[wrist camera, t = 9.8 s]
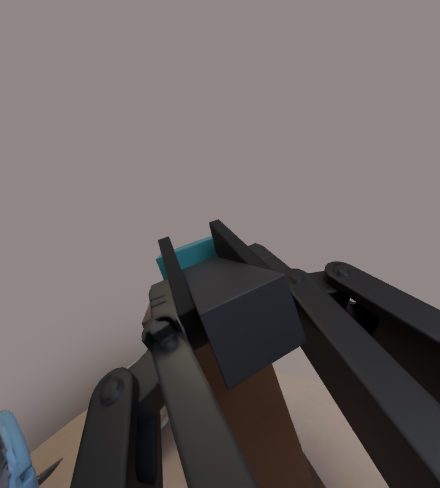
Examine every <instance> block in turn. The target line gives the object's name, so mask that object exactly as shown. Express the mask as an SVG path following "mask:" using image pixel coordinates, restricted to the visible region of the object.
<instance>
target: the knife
mask: <svg viewBox="0 0 440 488" xmlns="http://www.w3.org/2000/svg"><path fill="white" fill-rule="evenodd" d="M62 459H63V458H62ZM62 459H60V460H59V461H57V462H56V463H54V464H53V465H52V466H50V467H49V468H48V469H46V470H45V471H44V472H42V473H41V474H40V475H38V476H37V480H38V484H39V486H40V485H41V484H42V483H43V482H44V481H45V480H46V479H47V478H48V477H49V476H50V475H51V473H52V472H53V471H54V470H55V468H56V467H57V466H58V464H59V463H60V462H61V460H62ZM39 477H40V478H39ZM38 478H39V479H38Z"/></svg>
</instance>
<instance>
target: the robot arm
mask: <svg viewBox="0 0 440 488" xmlns="http://www.w3.org/2000/svg"><path fill="white" fill-rule="evenodd" d="M209 224H210V229H211V234H212V238H213V243H214V247H215V252H216V253H217V255H218V256H219V257H220V258H224V259H228V260H232V261H236V262H240V263H244V264H248V265H252V266H256V267H260V268H264V269H268V270H272V271H276V272H280V273H284V274H285V275H286V279H287V282H288V285H289V288H290V291H291V294H292V297H293V300H294V303H295V306H296V309H297V312H298V315H299V318H300V322H301V325H302V328H303V331H304V334H305V337H306V340H307V342H306V343H304V344H303V345H301V346H300V347H301V348H302V350H303V351H304V353H305V355H306V356H307V358H308V359H309V361H310V362H311V364H312V365H313V367H314V369H315V370H316V372H317V374H318V375H319V377H320V378H321V380H322V382H323V383H324V385H325V386H326V388H327V389H328V391H329V393H330V394H331V396H332V397H333V399H334V401H335V402H336V404H337V405H338V407H339V408H340V410H341V412H342V413H343V415H344V416H345V418H346V420H347V421H348V423H349V424H350V426H351V427H352V429H353V431H354V432H355V434H356V435H357V437H358V439H359V440H360V442H361V443H362V445H363V447H364V448H365V450H366V451H367V453H368V454H369V456H370V458H371V459H372V461H373V462H374V464H375V466H376V467H377V469H378V470H379V472H380V473H381V475H382V477H383V478H384V480H385V481H386V483H387V485H388V486H389V488H440V310H439V309H436V308H435V307H433V306H431V305H429V304H427V303H424V302H423V301H421V300H419V299H417V298H415V297H413V296H411V295H409V294H407V293H405V292H403V291H401V290H398V289H397V288H395V287H393V286H391V285H389V284H387V283H385V282H383V281H381V280H379V279H377V278H375V277H373V276H371V275H369V274H367V273H365V272H364V271H361V270H359V269H358V268H356V267H353V266H352V265H349V264H347V263H344V262H331V263H328V264H327V265H326V266H325V270H324V271H321V272H315V273H306V272H305V271H302V270H300V269H291V268H290V267H288V266H287V265H286V264H285V263H283V262H282V261H281V260H280V259H278V258H277V257H276V256H275V255H273V254H272V253H271V252H270V251H268V250H267V249H266V248H265V247H264V246H262V245H259V244H256V243H255V244H252V245H250V246H247V245H246V244H245V243H244V242H242V241H241V240H240V239H239V238H238V237H237V236H236V235H235V234H234V233H233V232H232V231H231V230H230V229H228V228H227V227H226V226H225V225H224V224H223V223H222V222H221V221H220V220H219V219H218V220H215V221H212V222H210V223H209ZM158 243H159V246H160V250H161V254H162V258H163V262H164V266H165V269H166V273H167V277H168V279H166V280H164V281H161V282H159V283H156V284H154V285H152V286H151V289H150V291H149V300H150V308H151V318H152V319H151V320H150V321H149V322H148V323H147V325H146V326H145V327H144V330H143V332H142V342H143V343H144V344H145V345H146V347H147V348H148V350H147V351H146V353H145V354H144V355H143V356H142V357H141V358H140V359H139V360H137V361H136V362H135V363H134V364H133V365H132V366H130V367H129V368H128V369H127V368H123V367H121V368H117V369H114V370H113V371H111V372H109V373H108V374H107V375H105V376H104V377H103V378H102V379H101V380H100V382H99V383H98V385H97V386H96V388H95V389H94V392H93V394H92V397H91V399H90V403H89V408H88V412H87V416H86V421H85V425H84V429H83V434H82V438H81V442H80V447H79V451H78V455H77V460H76V464H75V468H74V473H73V477H72V481H71V486H70V488H163V475H162V444H161V414H160V410H161V409H162V408H163V407H164V406H166V409H167V413H168V417H169V420H170V424H171V428H172V431H173V435H174V439H175V442H176V446H177V450H178V453H179V457H180V460H181V464H182V468H183V471H184V475H185V479H186V482H187V486H188V488H260V487H259V485H258V483H257V481H256V479H255V477H254V475H253V473H252V471H251V469H250V467H249V464H248V462H247V460H246V458H245V456H244V454H243V452H242V450H241V448H240V446H239V444H238V442H237V440H236V438H235V436H234V434H233V432H232V429H231V427H230V425H229V423H228V421H227V419H226V417H225V415H224V413H223V411H222V409H221V407H220V405H219V403H218V401H217V399H216V396H215V394H214V392H213V390H212V388H211V386H210V384H209V382H208V380H207V378H206V376H205V374H204V372H203V370H202V368H201V366H200V364H199V361H198V359H197V357H196V355H195V351H194V350H196V349H198V348H200V347H202V346H204V345H206V344H208V343H209V341H208V338H207V336H206V333H205V330H204V328H203V325H202V322H201V320H200V317H199V314H198V312H197V309H196V306H195V304H194V301H193V298H192V296H191V293H190V291H189V288H188V285H187V283H186V280H185V277H184V275H183V272H182V270H181V267H180V264H179V262H178V259H177V257H176V254H175V251H174V249H173V246H172V244H171V241H170V239H169V237H166V238H163V239H160V240H158ZM350 298H351V299H353V300H354V301H356V302H352V301H350ZM0 488H39V484H38V480H37V476H36V472H35V470H34V467H33V466H32V460H31V456H30V452H29V449H28V446H27V444H26V441H25V438H24V436H23V433H22V431H21V429H20V426H19V424H18V422H17V420H16V418H15V416H14V415H13V413H11V412H10V411H7V410H4V411H0Z"/></svg>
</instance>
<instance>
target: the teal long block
mask: <svg viewBox="0 0 440 488" xmlns="http://www.w3.org/2000/svg"><path fill="white" fill-rule="evenodd" d="M174 251H175V254H176V257H177V259H178V262H179V264H180V267H181V270H182V272H183V275H184V277H185V280H186V283H187V285H188V288H189V291H190V293H191V296H192V298H193V301H194V304H195V306H196V309H197V312H198V314H199V317H200V320H201V322H202V325H203V328H204V330H205V333H206V336H207V338H208V341H209V344H210V346H211V349H212V351H213V354H214V356H215V359H216V362H217V364H218V367H219V369H220V372H221V375H222V377H223V380H224V382H225V385H226V388H227V389H231V388H232V387H234V386H235V385H237V384H239V383H240V382H242V381H244V380H245V379H247V378H249V377H250V376H252V375H254V374H255V373H257V372H258V371H260V370H262V369H263V368H265V367H267V366H268V365H270V364H272V363H273V362H275V361H276V360H278V359H280V358H281V357H283V356H284V355H286V354H288V353H290V352H291V351H293V350H294V349H296V348H298V347H299V346H301V345H303V344H304V343H306V342H307V340H306V337H305V334H304V331H303V328H302V325H301V322H300V318H299V315H298V312H297V309H296V306H295V303H294V300H293V297H292V294H291V291H290V288H289V285H288V282H287V279H286V275H285V274H284V273H280V272H276V271H272V270H268V269H264V268H260V267H256V266H252V265H248V264H244V263H240V262H236V261H232V260H228V259H224V258H220V257H219V256H218V255H217V253H216V252H215V247H214V243H213V238H212V237H207V238H205V239H201V240H199V241H196V242H193V243H191V244H188V245H185V246H182V247H179V248H177V249H174ZM156 261H157V263H158V266H159V269H160V271H161V274H162V276H163V279H164V280H166V279H168V277H167V273H166V269H165V266H164V262H163V258H162V254H161V255H160V256H159V257H158V258H157V259H156Z"/></svg>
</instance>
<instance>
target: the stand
mask: <svg viewBox="0 0 440 488" xmlns="http://www.w3.org/2000/svg"><path fill="white" fill-rule="evenodd" d="M151 319H152V318H151V308H150V303H149V306H148V309H147V311H146V314H145V316H144V319H143V321H142V325H143V328H144V327H145V326H146V325H147V323H148V322H149V321H150V320H151ZM194 351H195V355H196V357H197V359H198V361H199V364H200V366H201V368H202V370H203V372H204V374H205V376H206V378H207V380H208V382H209V384H210V386H211V388H212V390H213V392H214V394H215V396H216V399H217V401H218V403H219V405H220V407H221V409H222V411H223V413H224V415H225V417H226V419H227V421H228V423H229V425H230V427H231V429H232V432H233V434H234V436H235V438H236V440H237V442H238V444H239V446H240V448H241V450H242V452H243V454H244V456H245V458H246V460H247V462H248V464H249V467H250V469H251V471H252V473H253V475H254V477H255V479H256V481H257V483H258V485H259V487H260V488H326V487H325V486H324V484H323V483H322V481H321V479H320V478H319V476H318V475H317V473H316V472H315V470H314V468H313V467H312V465H311V464H310V462H309V461H308V459H307V457H306V456H305V454H304V453H303V451H302V448H301V445H300V443H299V440H298V437H297V434H296V431H295V428H294V425H293V423H292V420H291V417H290V414H289V411H288V408H287V405H286V403H285V400H284V397H283V394H282V391H281V388H280V385H279V383H278V380H277V377H276V374H275V371H274V368H273V366H272V364H270V365H268V366H267V367H265V368H263V369H262V370H260V371H258V372H257V373H255V374H254V375H252V376H250V377H249V378H247V379H245V380H244V381H242V382H240V383H239V384H237V385H235V386H234V387H232V388H231V389H227V388H226V385H225V382H224V380H223V377H222V375H221V372H220V369H219V367H218V364H217V362H216V359H215V356H214V354H213V351H212V349H211V346H210V344H209V343H208V344H206V345H204V346H202V347H200V348H198V349H196V350H194Z"/></svg>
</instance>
